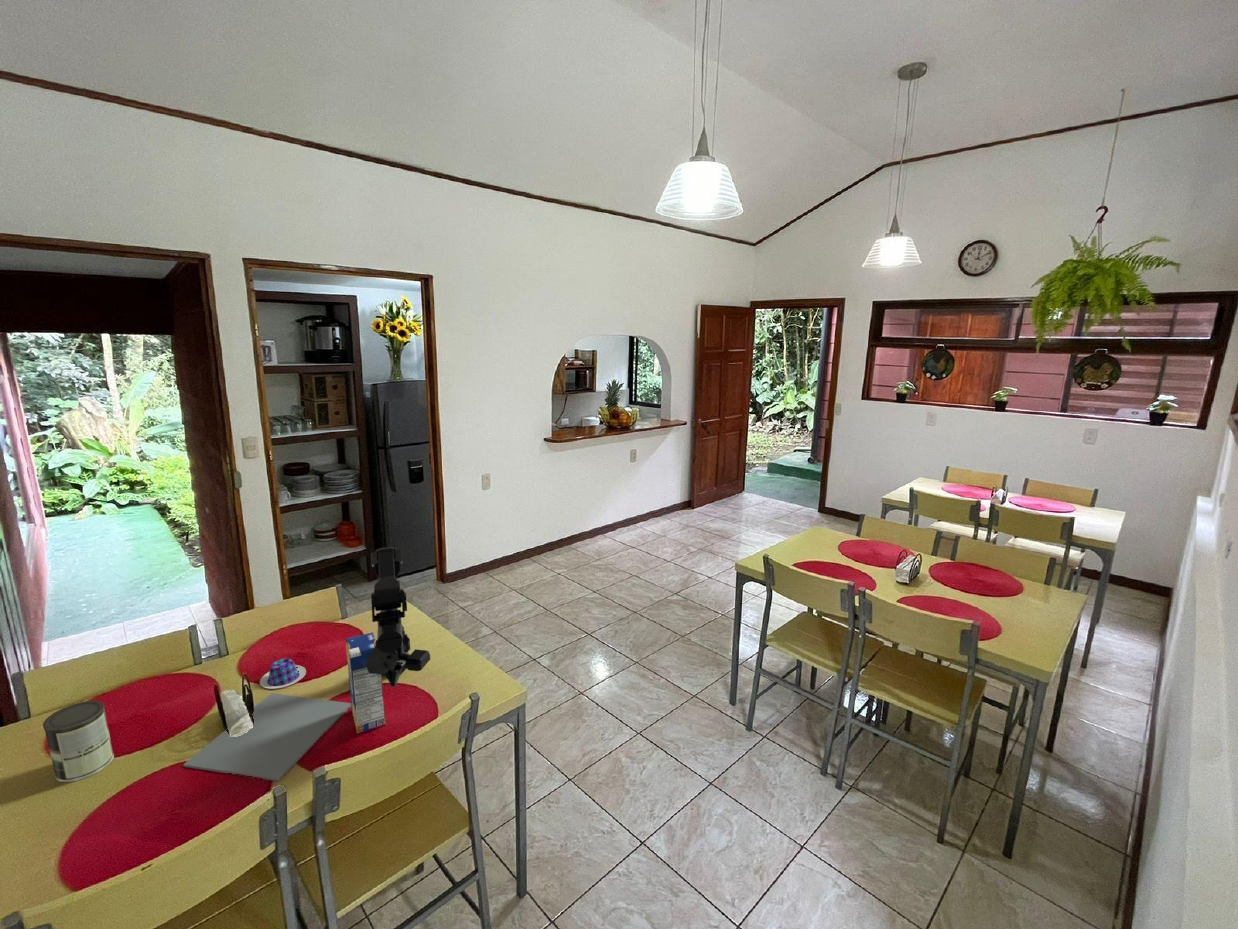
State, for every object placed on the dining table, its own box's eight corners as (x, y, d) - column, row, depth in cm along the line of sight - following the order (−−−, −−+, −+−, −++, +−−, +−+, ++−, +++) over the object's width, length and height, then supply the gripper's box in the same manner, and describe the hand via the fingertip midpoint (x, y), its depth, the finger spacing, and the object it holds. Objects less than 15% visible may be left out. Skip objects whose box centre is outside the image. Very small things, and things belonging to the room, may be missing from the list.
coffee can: (41, 784, 127) (29, 730, 124) (80, 751, 137) (69, 700, 134) (90, 782, 128) (79, 728, 125) (125, 749, 138) (115, 699, 135)
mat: (271, 694, 160) (271, 693, 160) (351, 705, 157) (351, 703, 157) (183, 766, 133) (183, 764, 133) (278, 781, 130) (277, 779, 130)
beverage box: (357, 734, 145) (350, 658, 141) (351, 710, 155) (345, 638, 150) (385, 725, 149) (379, 651, 144) (378, 702, 158) (372, 632, 153)
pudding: (293, 663, 177) (292, 648, 175) (314, 676, 170) (312, 660, 169) (252, 681, 167) (250, 665, 166) (272, 696, 160) (270, 679, 159)
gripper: (337, 645, 138) (342, 700, 142) (408, 653, 136) (411, 709, 139) (363, 623, 149) (368, 675, 153) (429, 630, 147) (432, 682, 150)
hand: (394, 685), depth 148 cm, fingers closed
